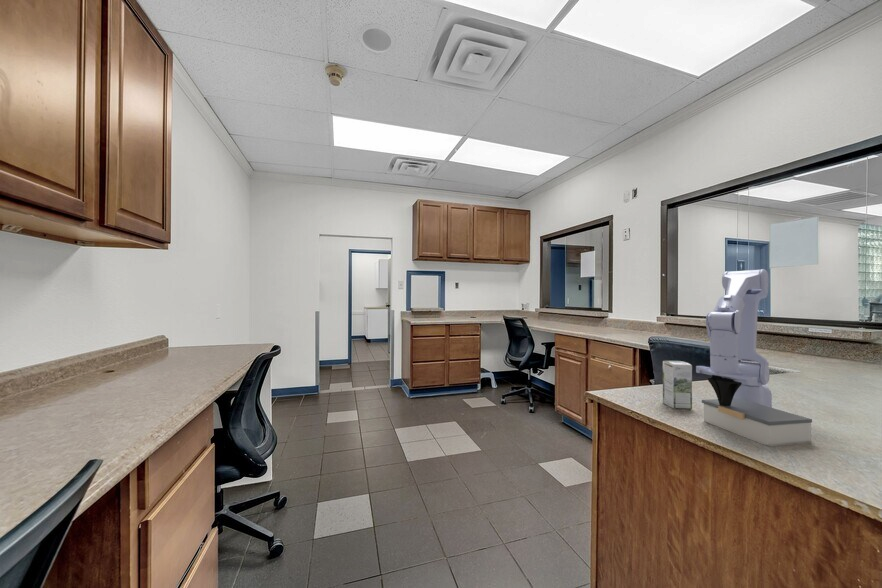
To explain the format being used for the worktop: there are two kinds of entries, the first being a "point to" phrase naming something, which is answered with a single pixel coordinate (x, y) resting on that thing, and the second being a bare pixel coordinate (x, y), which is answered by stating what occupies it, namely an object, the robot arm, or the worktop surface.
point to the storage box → (760, 429)
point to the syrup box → (677, 384)
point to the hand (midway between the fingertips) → (725, 405)
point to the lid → (757, 412)
